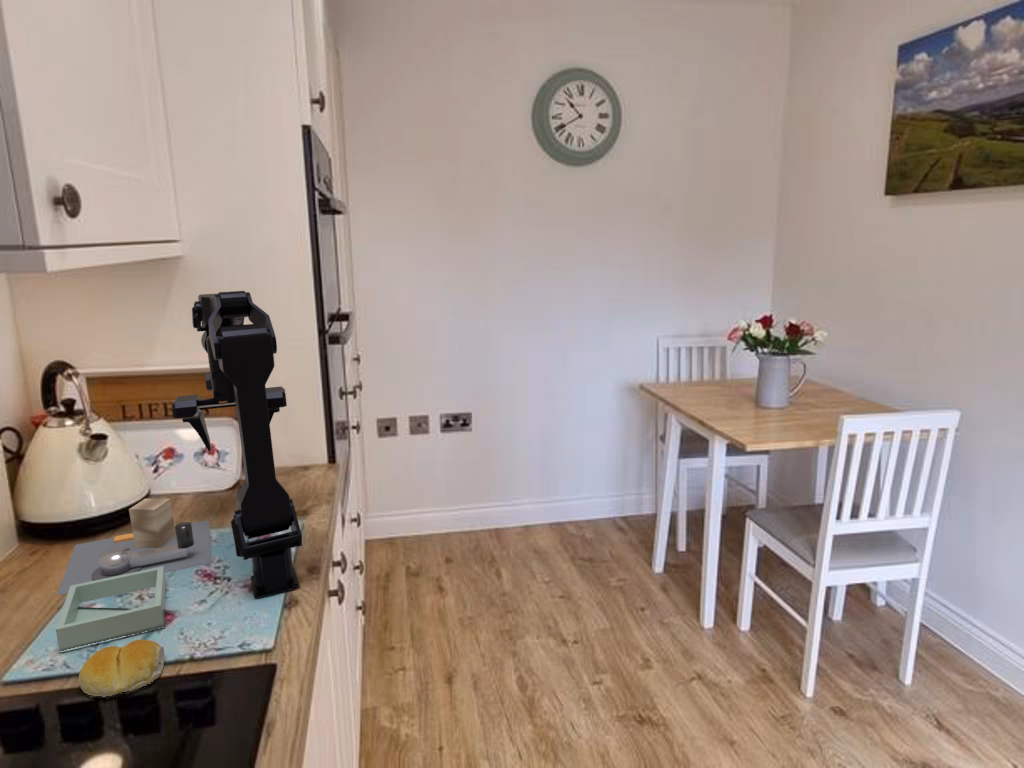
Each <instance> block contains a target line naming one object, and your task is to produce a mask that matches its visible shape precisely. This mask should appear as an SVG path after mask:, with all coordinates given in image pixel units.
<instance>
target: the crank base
mask: <svg viewBox="0 0 1024 768" xmlns="http://www.w3.org/2000/svg"><path fill="white" fill-rule="evenodd" d="M190 523H191V525H192V532H193V539H194V545H193V546H191V547H188V548H187V556H185V557H180V558H175V559H171V560H166V561H161V562H156V563H151V564H146V565H141V566H137V567H132V568H130V569H128V570H126V571H124V572H122V573H118V574H114V575H104V574H102V573H101V570H100V564H99V559H98V556H99V555H100V554H101V553H102V552H104V551H106V550H109V549H112V548H116V547H129V548H130V549H131V553H136V552H141V551H146V550H151V549H156V548H135V543H134V537H133V532H132V533H131V532H130V533H126V534H121V535H116V536H114V537H111V538H105V539H104V538H103V539H99V540H95V541H90V542H89V541H88V542H84V543H83V542H82V543H77V544H75V546H74V548H73V551H72V553H71V556H70V558H69V561H68V565H67V567H66V570H65V573H64V575H63V578H62V580H61V583H60V586H59V588H58V591H57V594H56V596H57V597H58V596H62V595H68V592H69V589H70V586H71V585H76V584H81V583H86V582H90V581H95V580H100V579H105V578H110V577H114V576H119V575H124V574H129V573H133V572H138V571H143V570H148V569H153V568H157V567H162V566H164V571H165V574H166V573H170V572H175V571H181V570H183V569H184V570H185V569H189V568H192V567H199V566H204V565H207V564H212V563H213V559H212V546H211V534H210V533H211V531H210V519H207V520H205V519H204V520H201V521H195V522H190ZM175 526H176V525H174V527H175ZM175 534H176V531H175ZM176 544H177V537H176V536H175V537H174V538H173V539H171V540H170V541H169V542H167V543H166V544H165V545H164V546H162V547H166V546H171V545H176Z"/></svg>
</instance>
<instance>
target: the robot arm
mask: <svg viewBox="0 0 1024 768" xmlns="http://www.w3.org/2000/svg"><path fill="white" fill-rule="evenodd" d="M197 297H198V298H197V299H198V300H196V301H194V302H193V307H192V308H191V323H192V327H193V329H196V332H203V333H202V335H201V338H200V339H201V340H200V343H201V347H202V348H203V349H204V350H205V352H206V354H207V357H208V366H209V372H207V373H205V374H204V375H205V378H204V379H205V388H206V390H207V391H209V392H212V397H211V398H201V399H200V394H190V395H180V396H179V395H178V396H177V397H176V398H175V399H174V401H173V403H172V405H171V410H172V416H173V419H181V421H182V423H189V424H190V426H191V427H192V428H193V429H194V430H195V432H196V434H197V435H198V436H199V437H200V439H201V441H202V443H203V444H204V446H205V449H207V451H208V452H211V451H212V445H211V437H210V434H209V432H208V427H207V423H206V419H205V413H204V410H213V409H221V408H222V409H223V408H233V407H236V414H237V421H238V423H237V424H238V430H239V439H240V447H241V454H242V462H243V470H244V480H243V482H242V484H241V485H240V486H238V488H237V491H236V503H237V505H236V506H237V510H234V511H233V518H232V519H231V521H230V525H231V530H232V537H233V542H234V548H235V555H236V557H237V558H238V557H239V558H243V561H246V560H248V559H251V565H252V573H253V575H251V576H250V584H251V588H252V594H253V598H254V599H259V598H262V597H267V596H271V595H272V596H273V595H276V594H279V593H284V592H288V591H292V590H296V589H299V588H300V581H299V579H298V576H297V573H296V569H295V567H294V565H293V554H292V548H296V547H302V546H303V535H302V531H301V528H300V524H299V519H298V515H297V511H296V508H295V504H294V500H293V499H292V498H290V495H289V493H288V491H287V490H286V489H285V487H284V486H283V484H281V482H280V481H279V480H278V478H277V475H276V468H275V460H274V449H273V442H272V433H271V422H272V420H273V417H274V415H275V413H279V412H280V411H281V409H280V408H285V407H287V396H286V395H287V394H286V389H285V388H284V387H283V386H281V385H280V386H273V387H271V386H270V387H266V384H267V383H268V380H269V379H270V376H271V375H272V372H273V371H274V368H275V355H276V354H277V351H278V345H277V338H276V337H277V336H276V332H275V330H274V327H273V323H272V320H271V318H270V315H269V314H268V313H267V312H265V311H264V310H263V309H262V308H261V307H259V306H258V305H256V304H255V303H254V302H253V299H252V296H251V292H249V291H245V290H236V291H235V290H233V291H219V292H217V293H206V294H205V293H204V294H198V296H197ZM245 318H248V320H249V322H250V323H251V324H250V323H248V324H244V323H245ZM274 354H275V355H274ZM289 529H290V531H288V530H289ZM284 531H288V532H285V533H280V532H284ZM276 533H280V534H277V535H273V536H268V535H271V534H276ZM263 536H268V537H264V538H260V537H263ZM245 537H246V539H247V540H251V539H255V538H259V539H255V540H251V541H247V542H246V539H245Z"/></svg>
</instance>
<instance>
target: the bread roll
mask: <svg viewBox="0 0 1024 768" xmlns="http://www.w3.org/2000/svg"><path fill="white" fill-rule="evenodd" d="M164 648H165V647H164V646H162V645H160V644H159V643H158V642H156V641H153V640H149V639H136V640H132V641H131V642H129V643H126V645H124V646H117V645H116V646H115V645H114V646H113V645H111V646H106V647H104V648H101V649H100V650H97V651H96V652H95V653H93V654H92V655H91V656H90V657H88V659H87V660H86V661H85V663H84V664H83V665H82V667H80V670H79V675H78V682H79V686H80V689H81V690H82V692H83V693H84V694H85V693H86V694H88V695H93V696H102V697H106V696H112V695H115V694H118V693H121V694H123V693H122V692H127V691H132V690H135V689H138V688H141V687H143V686H146V685H147V684H149V685H150V684H152V683H153V681H154V680H155V679H156V680H157V679H158V678H159V677H160V676H161V674H162V672H163V669H164V665H165V657H166V656H165V649H164ZM156 680H155V681H156ZM155 681H154V682H155ZM151 682H152V683H151ZM147 686H148V685H147ZM147 686H146V687H147ZM86 694H85V695H86ZM88 695H87V696H88Z"/></svg>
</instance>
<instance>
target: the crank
mask: <svg viewBox="0 0 1024 768" xmlns="http://www.w3.org/2000/svg"><path fill="white" fill-rule="evenodd" d="M191 523H192V522H189V521H185V522H180V523H177V524H175V525H174V526H175V531H176V537H177V544H176V545H171V546H166V547H161V548H156V549H151V550H146V551H141V552H136V553H131V549H130V548H129V547H116V548H112V549H109V550H106V551H104V552H102V553H101V554H100V555H99V556H98V559H99V564H100V570H101V573H102V574H104V575H114V574H118V573H122V572H124V571H126V570H128V569H130V568H132V567H137V566H141V565H146V564H151V563H156V562H161V561H166V560H171V559H175V558H180V557H185V556H187V548H188V547H191V546H193V545H194V539H193V532H192V525H191Z"/></svg>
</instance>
